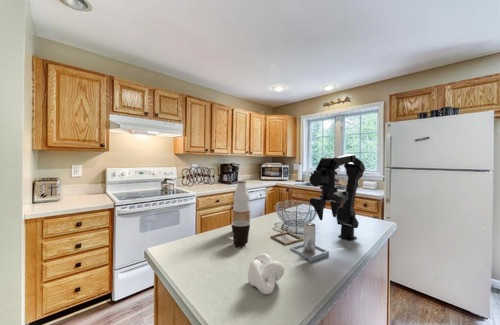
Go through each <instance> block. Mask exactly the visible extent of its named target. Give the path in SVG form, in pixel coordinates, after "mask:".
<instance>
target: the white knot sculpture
mask: <svg viewBox="0 0 500 325" xmlns="http://www.w3.org/2000/svg"><path fill="white" fill-rule="evenodd" d="M247 273H248V274H247V279H248V280H247V281H248V283H249V284H250V285H251V287H254V288H257V290H258V291H259V292H260V293H262V294H263V295H271V293H272V292H273V291H274V289H275V285H276V282H278V281H280V280H281V279H282V278H283V276H284V274H285V267H284V265H283V263H281V262H279V261H277V260H272V257H271V256H270V255H269V254H267V253H259V254H257V255H256V256H255V257H254V258H253V259H252V260H251V262H250V264H249V268H248V272H247Z"/></svg>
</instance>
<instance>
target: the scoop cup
mask: <svg viewBox="0 0 500 325" xmlns="http://www.w3.org/2000/svg"><path fill="white" fill-rule="evenodd" d="M303 244H304V246H303V252H304V254H307V255H309V254H310V255H312V254H315V253H316V248H315V245H316V224H315V223H314V222H305V223H303Z"/></svg>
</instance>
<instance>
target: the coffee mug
mask: <svg viewBox="0 0 500 325" xmlns="http://www.w3.org/2000/svg"><path fill="white" fill-rule="evenodd" d="M230 225H231V231H232V232H231V233H232V241H233V246H234V247H236V248H246V247H247V245H246V244H247V243H248V241H249V233H250V230H249V226H250V227H251V222H250V223H249V222H247V221H234V222H233V221H232V222H231V224H230Z"/></svg>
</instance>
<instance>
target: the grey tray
mask: <svg viewBox="0 0 500 325" xmlns="http://www.w3.org/2000/svg"><path fill="white" fill-rule="evenodd" d="M302 247H303V248H304V243H301V244H298V245H293V246H290V248H289V249H290V250H291V251H293V252H294V253H296V254H298V255H300V256H302V257H303V260H304V261H306V262H308V263H310V264H311V263H313V262H316V261H319V260H321V259H325V258H327V257H329V256H330V251H329V250H327V249H326V248H325V249H324V248H323V247H321V246H319V245H316V244H315V249H317V250H319V251H321V252H320V253H317V254H314V255H312V256H309V255H308V254H306V253H305V252H304V253H303V252H301V251H299V250H297V249H298V248H302Z"/></svg>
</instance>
